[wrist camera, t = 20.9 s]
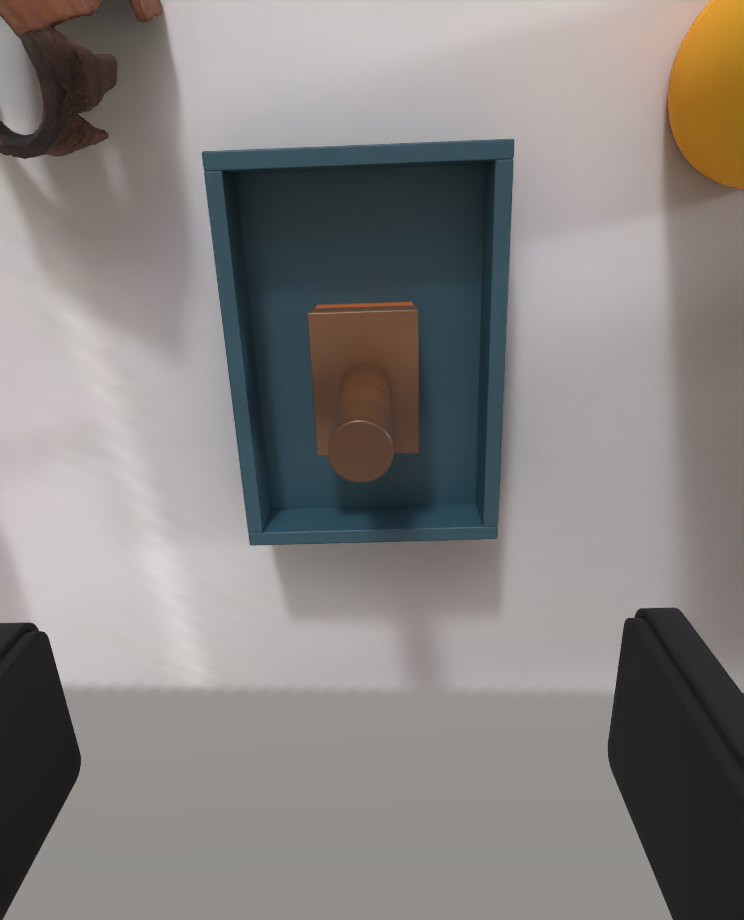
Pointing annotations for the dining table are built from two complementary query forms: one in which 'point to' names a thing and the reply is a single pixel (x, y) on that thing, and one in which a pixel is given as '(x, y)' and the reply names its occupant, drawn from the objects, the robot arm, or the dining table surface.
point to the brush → (365, 385)
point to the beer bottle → (711, 93)
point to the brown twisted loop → (62, 74)
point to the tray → (365, 281)
